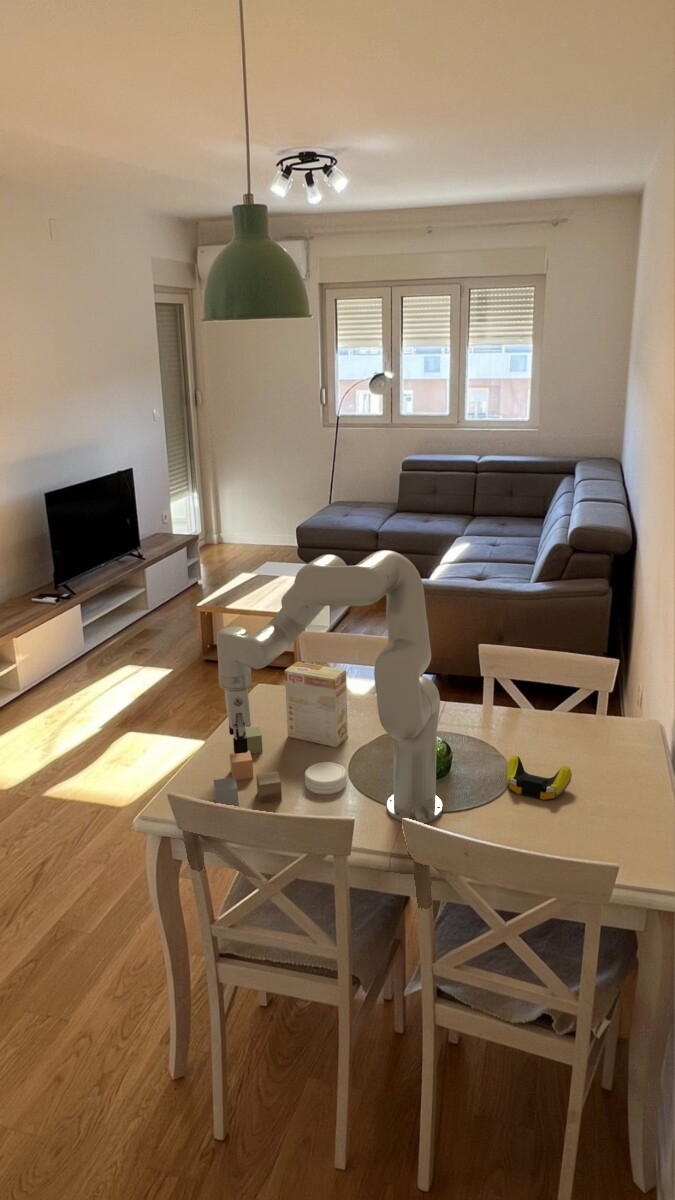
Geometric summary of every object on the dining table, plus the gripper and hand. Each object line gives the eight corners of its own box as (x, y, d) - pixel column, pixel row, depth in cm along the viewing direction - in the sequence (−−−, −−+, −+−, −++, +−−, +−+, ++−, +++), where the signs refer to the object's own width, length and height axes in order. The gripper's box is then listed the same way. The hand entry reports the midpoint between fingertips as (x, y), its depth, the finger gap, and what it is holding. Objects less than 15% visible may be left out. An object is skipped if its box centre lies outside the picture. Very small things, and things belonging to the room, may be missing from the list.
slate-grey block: (238, 807, 190) (237, 788, 188) (216, 810, 189) (215, 791, 187) (236, 795, 195) (235, 777, 193) (215, 798, 194) (213, 780, 192)
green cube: (262, 752, 214) (261, 735, 213) (243, 755, 213) (242, 737, 211) (259, 743, 219) (258, 726, 217) (241, 746, 218) (239, 729, 216)
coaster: (354, 780, 200) (354, 767, 199) (331, 800, 192) (331, 786, 191) (320, 770, 205) (320, 757, 204) (297, 788, 197) (296, 775, 196)
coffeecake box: (348, 736, 221) (347, 669, 215) (336, 748, 215) (334, 679, 209) (300, 726, 228) (297, 660, 222) (286, 737, 222) (283, 669, 216)
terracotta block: (253, 778, 202) (252, 759, 201) (233, 780, 201) (231, 762, 200) (250, 768, 207) (249, 750, 205) (230, 770, 206) (229, 752, 204)
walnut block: (281, 800, 192) (280, 781, 190) (260, 803, 191) (259, 784, 189) (278, 789, 197) (277, 771, 195) (257, 792, 196) (256, 774, 194)
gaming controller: (509, 772, 202) (498, 791, 194) (510, 751, 200) (499, 771, 192) (572, 785, 196) (563, 806, 187) (573, 764, 194) (564, 785, 185)
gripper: (255, 691, 189) (258, 758, 194) (246, 663, 205) (249, 725, 210) (222, 695, 187) (226, 762, 193) (215, 666, 203) (219, 728, 209)
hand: (238, 743), depth 201 cm, fingers open, 9 cm apart
